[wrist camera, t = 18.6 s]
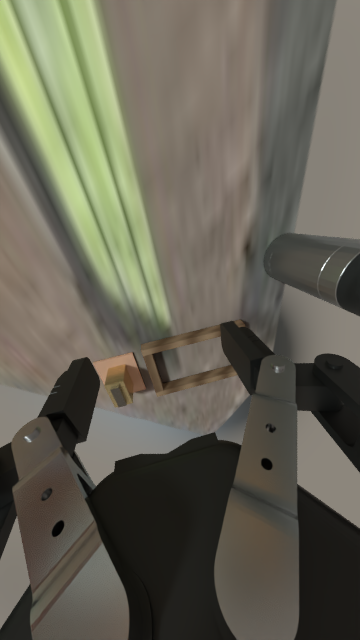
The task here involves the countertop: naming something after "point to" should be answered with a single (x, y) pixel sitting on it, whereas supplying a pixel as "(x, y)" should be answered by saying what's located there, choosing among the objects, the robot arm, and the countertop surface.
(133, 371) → the mat
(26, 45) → the countertop surface
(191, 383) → the open wooden frame
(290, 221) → the countertop surface
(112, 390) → the lever cap
